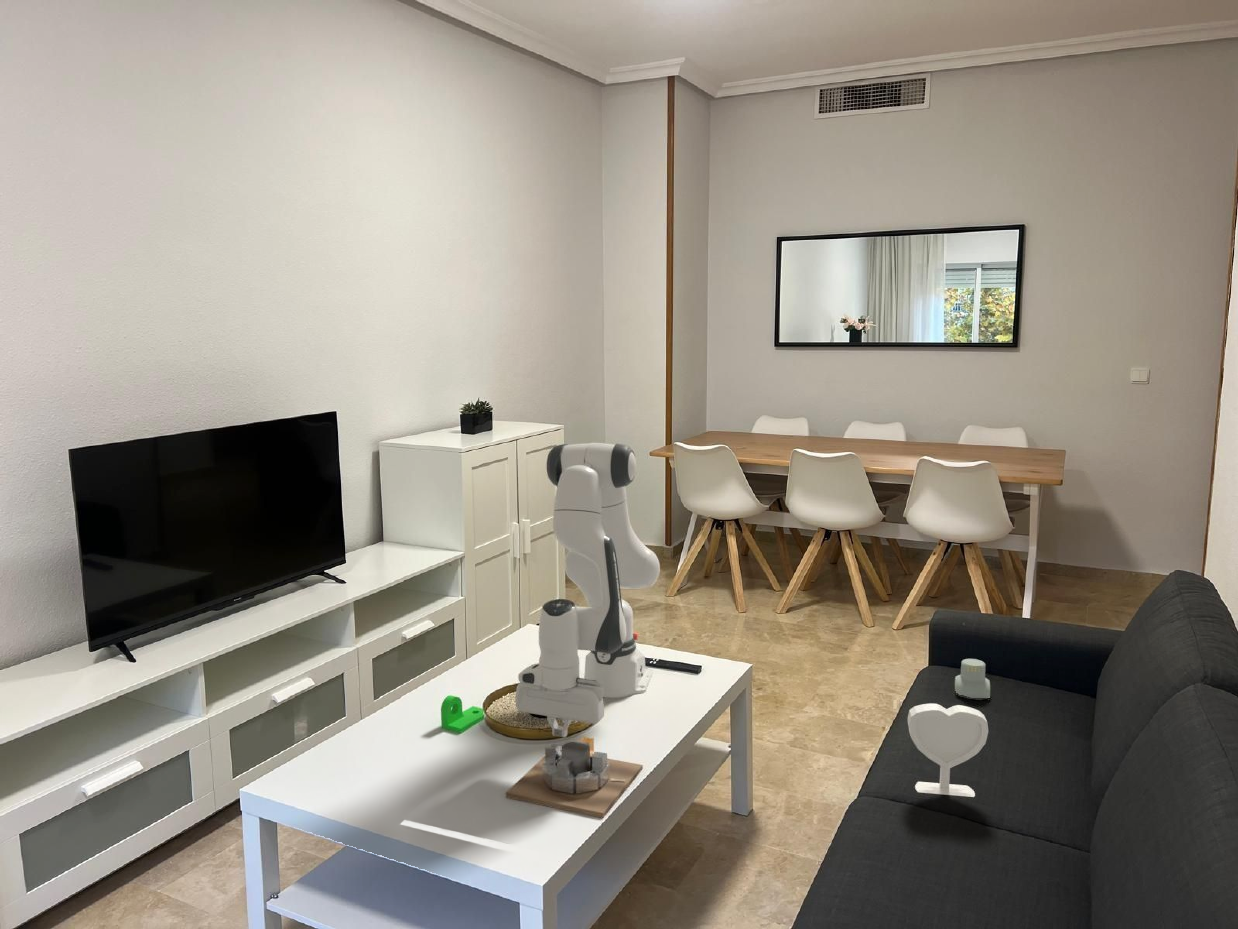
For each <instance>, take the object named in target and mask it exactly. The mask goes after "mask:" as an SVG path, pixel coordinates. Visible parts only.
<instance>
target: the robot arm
mask: <svg viewBox="0 0 1238 929" xmlns="http://www.w3.org/2000/svg"><path fill="white" fill-rule="evenodd" d="M637 469H638V468H637V459H636V455H635V452H634V451H633V449H632V448H631V447H630V446H629V445H625V444H622V443H615V444H613V443H604V442H589V443H571V444H569V443H563V444H558V445H555V446H553V447H552V448H551V449H550V451H549V452H548V455H547V459H546V474H547V477H548V480H550V482H551V483H552V484H553V485H554V486H556V492H555V496H554V503H553V504H554V505H553V514H552V515H553V516H552V528H553V534H554V536H555V538H556V540H557V542H558V543H559V544H560V545H562V546H563V547H564V548H566V550H568V551H567V552H566V555H565V556H564V562H563V565H564V572H565V574H566V575H567V577H568V579H569V580H570V581H572V582H573V583H574V584H575V585H576V586H577V587H578V588H579V590H580V591H581V592H582V594H583V596H584V597H585V599H586V602H587V606H578V605H576V604H575V603H574V602H573V601H572V600H570V599H565V598H556V599H552V600H549V601H546V602H545V603H544V604H543V605H542V606H541V609H540V614H539V624H538V625H539V626H538V645H539V650H540V655H539V659H538V662H537V663H534V664H531V665H529V666H527V667H526V668H524V669H523V670H522V671H520V673H518V676H517V677H518V682H519V683H518V684H517V686H516V690H515V707H516V709H517V710H518V712H519V713H520V712H522V713H526V714H534V715H539V716H545V717H546V718H547V719H546V721H547V723H548V724H549V726H550V727H551V730H552V731H551V732H552V733H551V735H552V736H554V737H561V738H566V737H567V736H568V728H569V726H570V725H571V723H572V721H573V722H574V721H575V722H581V723H587V724H593V725H597V724H598V723H599V722H601V720H602V719H603V718H604V716H605V706H604V704H605V703H604V698H610V699H611V698H612V699H615V698H616V699H617V698H625V697H628V696H632V695H637V694H644V693H647V689H648V687H649V684H650V682H651V680H652V677H653V674H654V670H652V669H650V668H648V667H646V658H645V655H644V653H643V652H641V651H640V650H638V649H637V645H636V641H637V640H638V638H639V633H638V632H634V612H633V609H632V607H631V605H630V603H628V602H627V601H626V600H624V599H623V598H622V593H621V592H622V591H621V589H628V590H636V589H637V590H640V589H648V588H651V587H653V585H655V583H657V581H658V578H659V576H660V573H661V572H660V571H661V565H660V560H659V559H658V556H657V554H656V553H655V552H654V551H653V550H651V549H650V548H648V547H647V546H646V545H645V544H644V543H643V542H642V541H641V540H640V539H639V537H638V536H637V534H636V533H635V531H634V529H633V526H632V524H631V519H630V514H629V508H628V496H627V488H626V487H627V486H629V485H630V484H631V483H632V482H633V481H634V480H635V476H636V474H637ZM578 651H589V652H588V653H587V654H586V655H585V661H584V674H583V675H584V677H583V678H582V677H580V657H579V654H578V653H579V652H578ZM557 719H562V720H561V721H562V723H563V725H559V724H558V721H557Z"/></svg>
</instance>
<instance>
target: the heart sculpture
mask: <svg viewBox="0 0 1238 929" xmlns="http://www.w3.org/2000/svg"><path fill="white" fill-rule="evenodd" d="M988 724H989V723H988V721H987V719H986V716H985V714H983V713H982V712H981V711H980V710H978V709H976V708H972V707H970V706H966V705H960V704H956V705H952V706H951V707H948V708H945V706H944V707H943V706H942V705H940V704H938V703H923V704H919V705H915V706H913V707H911V708H910V709H909V710H908V715H907V725H908V733H909V735H910V738H911V740H912V742H913V744H914V745H915V748H917V750H918V751H920V753H922V754H923V755H924V756H925V757H926V758H928V759H929V760H930V761H932V762H934V763H936V765H939V783H938V782H928V781H927V782H926V781H917V782H916V784H915V786H914V788H915V790H916V791H917V793H922V794H923V793H925V794H936V795H945V796H946V795H947V796H955V797H957V796H959V797H968V798H969V797H971V798H975V796H976V793H975V791H974V789H972V787H970V786H968V785H963V784H951V783H950V776H951V768H954V767H955V766H959V765H960V764H962V763H965V762H968V760H970V759H972V758H973V757H974V756H976V755H977V754H979V752H980V751H981V750H982V749H983V747H984V746H985V745H986V743H987V739H988V735H989V725H988Z"/></svg>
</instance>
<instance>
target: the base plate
mask: <svg viewBox="0 0 1238 929" xmlns="http://www.w3.org/2000/svg"><path fill="white" fill-rule="evenodd" d="M560 752H562V758H563V759H568V760H572V764H573V774H579V773H584V772H589V771H591V770H590V746H589V744H587V743H585V742H580V740H575V741H569V742H566V743H564V744H563V745H562V746H561V749H560ZM607 760H608V762H609V763H610V778H609V779H608V780H607V781H606V783H605V784H604V785H603V786H602V787H601V788H598V789H597V790H592V791H588V792H583V793H578V794H576V792H574V793H573V794H571V793H566V792H562V791H557V790H552V788H549V787H548V785H547V784H546V782H545V781H544V779H543V772H542V765H543V763H544V762H545V755H544V756H543V757H542V758H541V759H540V760H539V761H538V762H537V763H536V764H534V765H533V766H532V768H531V769H529V770H528V771H527V772H526V773H524V775H523V776H522V777H520V779H518V781H516V783H515V784H513V786H511V787H510V788H509V789H508V790H507V791H506V792H505V798H508V799H512V800H517V801H521V802H526V803H531V804H536V805H540V806H541V805H542V806H545V807H551V808H554V809H561V810H564V811H570V812H575V813H579V814H584V815H589V816H593V817H598V818H602V819H604V817H605V816H606V815H607V814H608V813H609V812H610V811H611V809H612V808H613V807H614V806H615V804H616V803H617V802H618V800H620V798H621V797H622V796H623V794H624V793H625V792H626V791H627V790H628V788H629V786H630V785H631V784H632V783H634V782H633V781H635V779H636V778H637V777H638V776H639V775H640V773H641V772H642V770H643V768H644V766H643V764H639V763H634V762H630V761H624V760H623V761H622V760H617V759H611V758H608V757H607Z"/></svg>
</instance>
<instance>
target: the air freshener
mask: <svg viewBox="0 0 1238 929" xmlns="http://www.w3.org/2000/svg"><path fill="white" fill-rule="evenodd" d="M960 665H961V666H960V674H958V675H956V676H955V677H954V692H955V691H956V693H958V694H959V695H964V696H967V697H970V698H991V683H990V682H991V681H990V679H988V678H987V677H986V663H985V662H984V661H982V660H979V659H977V658H965V659H962V661H961V664H960Z"/></svg>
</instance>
